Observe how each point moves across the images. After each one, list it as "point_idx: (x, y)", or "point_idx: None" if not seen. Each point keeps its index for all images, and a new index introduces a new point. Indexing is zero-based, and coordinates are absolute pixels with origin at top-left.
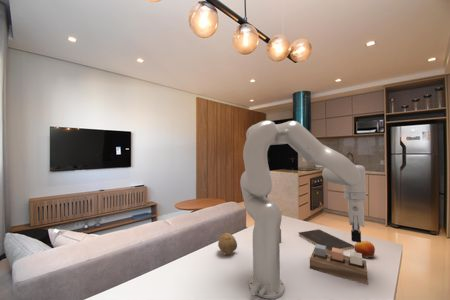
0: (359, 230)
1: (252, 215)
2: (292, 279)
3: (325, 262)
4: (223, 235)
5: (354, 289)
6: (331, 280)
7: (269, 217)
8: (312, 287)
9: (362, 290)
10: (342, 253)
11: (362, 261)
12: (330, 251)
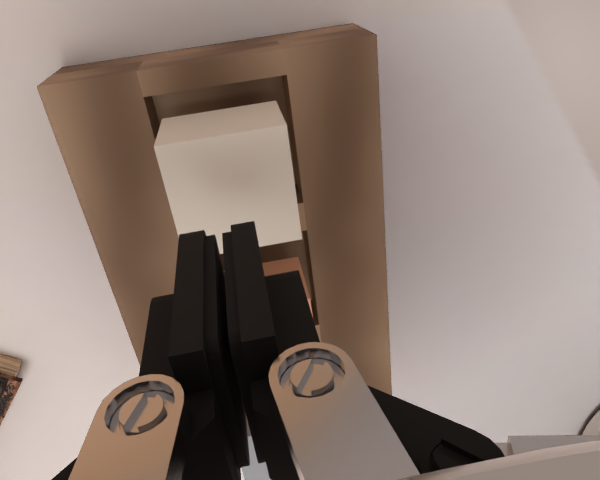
0: (374, 400)
1: None
2: (544, 384)
3: (363, 339)
4: None
5: (477, 100)
6: (445, 240)
7: None
8: (573, 294)
9: (462, 50)
10: (309, 300)
11: (104, 113)
12: (10, 368)
